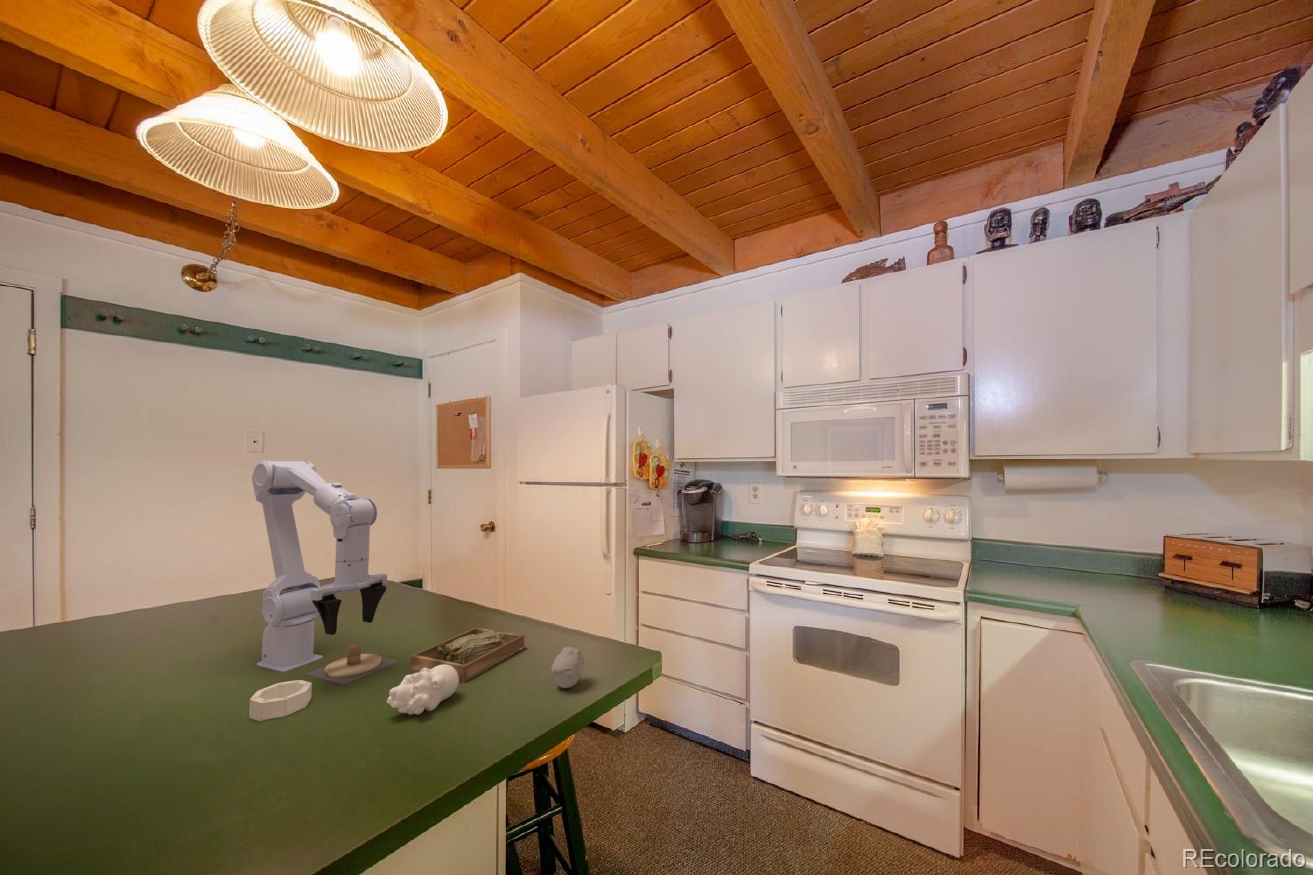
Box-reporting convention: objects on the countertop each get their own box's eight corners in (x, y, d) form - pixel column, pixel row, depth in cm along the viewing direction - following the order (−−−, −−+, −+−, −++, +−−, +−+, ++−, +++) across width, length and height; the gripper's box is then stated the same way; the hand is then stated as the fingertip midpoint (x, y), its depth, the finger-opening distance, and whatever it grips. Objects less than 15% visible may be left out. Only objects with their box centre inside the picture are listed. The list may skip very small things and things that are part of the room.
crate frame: (409, 670, 99) (409, 655, 99) (474, 639, 116) (475, 627, 116) (463, 682, 94) (464, 666, 94) (524, 648, 111) (524, 635, 111)
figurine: (472, 684, 87) (412, 709, 77) (453, 706, 89) (391, 733, 78) (455, 651, 90) (395, 671, 80) (437, 673, 92) (376, 695, 81)
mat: (304, 675, 97) (304, 674, 97) (360, 653, 108) (361, 652, 108) (344, 685, 92) (344, 684, 92) (399, 662, 103) (399, 660, 103)
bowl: (240, 714, 82) (241, 696, 82) (291, 694, 89) (292, 677, 89) (269, 724, 79) (270, 705, 79) (319, 702, 86) (320, 684, 86)
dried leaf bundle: (451, 678, 96) (451, 650, 96) (431, 664, 103) (432, 638, 103) (515, 656, 107) (516, 632, 107) (494, 645, 113) (494, 622, 114)
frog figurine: (590, 681, 94) (591, 645, 94) (570, 697, 87) (570, 658, 88) (565, 676, 96) (565, 640, 97) (543, 690, 90) (543, 653, 90)
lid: (313, 673, 97) (313, 651, 98) (359, 654, 107) (360, 635, 107) (346, 681, 94) (347, 658, 94) (391, 661, 103) (392, 641, 103)
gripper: (328, 568, 89) (325, 642, 88) (398, 554, 102) (395, 619, 101) (304, 564, 91) (301, 637, 91) (375, 551, 105) (373, 615, 104)
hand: (349, 627), depth 96 cm, fingers open, 7 cm apart
